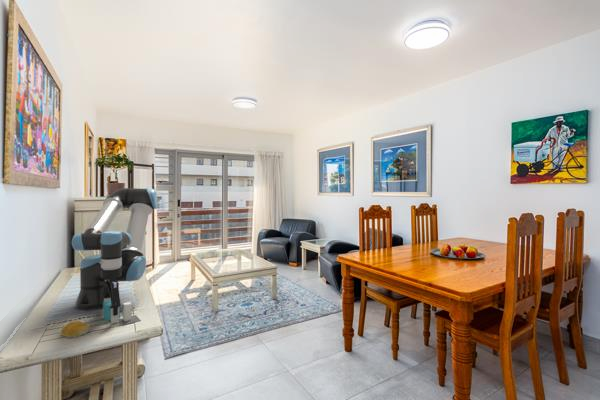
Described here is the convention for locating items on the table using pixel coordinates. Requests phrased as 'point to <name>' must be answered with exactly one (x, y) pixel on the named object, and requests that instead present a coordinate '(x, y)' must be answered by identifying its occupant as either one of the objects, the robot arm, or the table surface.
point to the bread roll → (75, 329)
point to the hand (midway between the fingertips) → (111, 317)
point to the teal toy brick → (107, 311)
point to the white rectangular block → (127, 311)
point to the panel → (133, 319)
